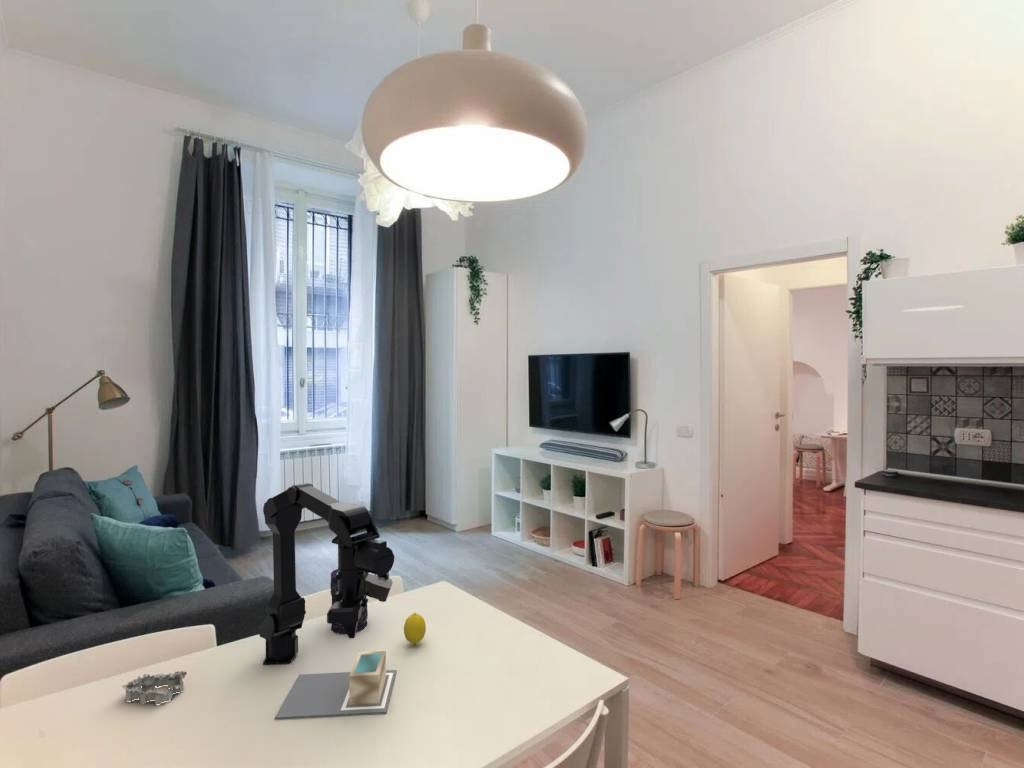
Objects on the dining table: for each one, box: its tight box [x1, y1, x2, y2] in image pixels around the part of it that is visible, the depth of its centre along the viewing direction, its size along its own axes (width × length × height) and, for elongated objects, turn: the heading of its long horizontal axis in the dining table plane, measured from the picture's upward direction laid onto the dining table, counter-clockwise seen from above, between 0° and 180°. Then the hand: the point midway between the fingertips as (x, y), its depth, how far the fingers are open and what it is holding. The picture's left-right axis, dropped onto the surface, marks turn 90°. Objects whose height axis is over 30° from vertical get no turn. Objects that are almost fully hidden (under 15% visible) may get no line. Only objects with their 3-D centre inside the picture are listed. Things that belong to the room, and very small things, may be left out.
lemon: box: [403, 612, 427, 645], centre depth 140 cm, size 6×6×8 cm
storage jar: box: [329, 568, 369, 635], centre depth 150 cm, size 10×10×15 cm
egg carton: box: [121, 670, 188, 705], centre depth 117 cm, size 11×8×4 cm
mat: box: [274, 669, 397, 720], centre depth 118 cm, size 22×16×1 cm
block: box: [349, 650, 387, 705], centre depth 118 cm, size 6×10×6 cm, turn 5°
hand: (352, 637), depth 118 cm, fingers closed
